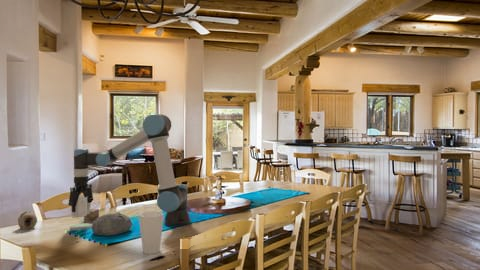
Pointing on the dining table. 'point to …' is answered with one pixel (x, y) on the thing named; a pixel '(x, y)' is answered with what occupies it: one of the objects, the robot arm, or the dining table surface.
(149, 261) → the dining table surface
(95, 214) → the walnut block
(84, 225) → the coaster
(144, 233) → the cup
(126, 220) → the decorative stone
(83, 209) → the mug
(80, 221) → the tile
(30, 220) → the grey rounded ring
